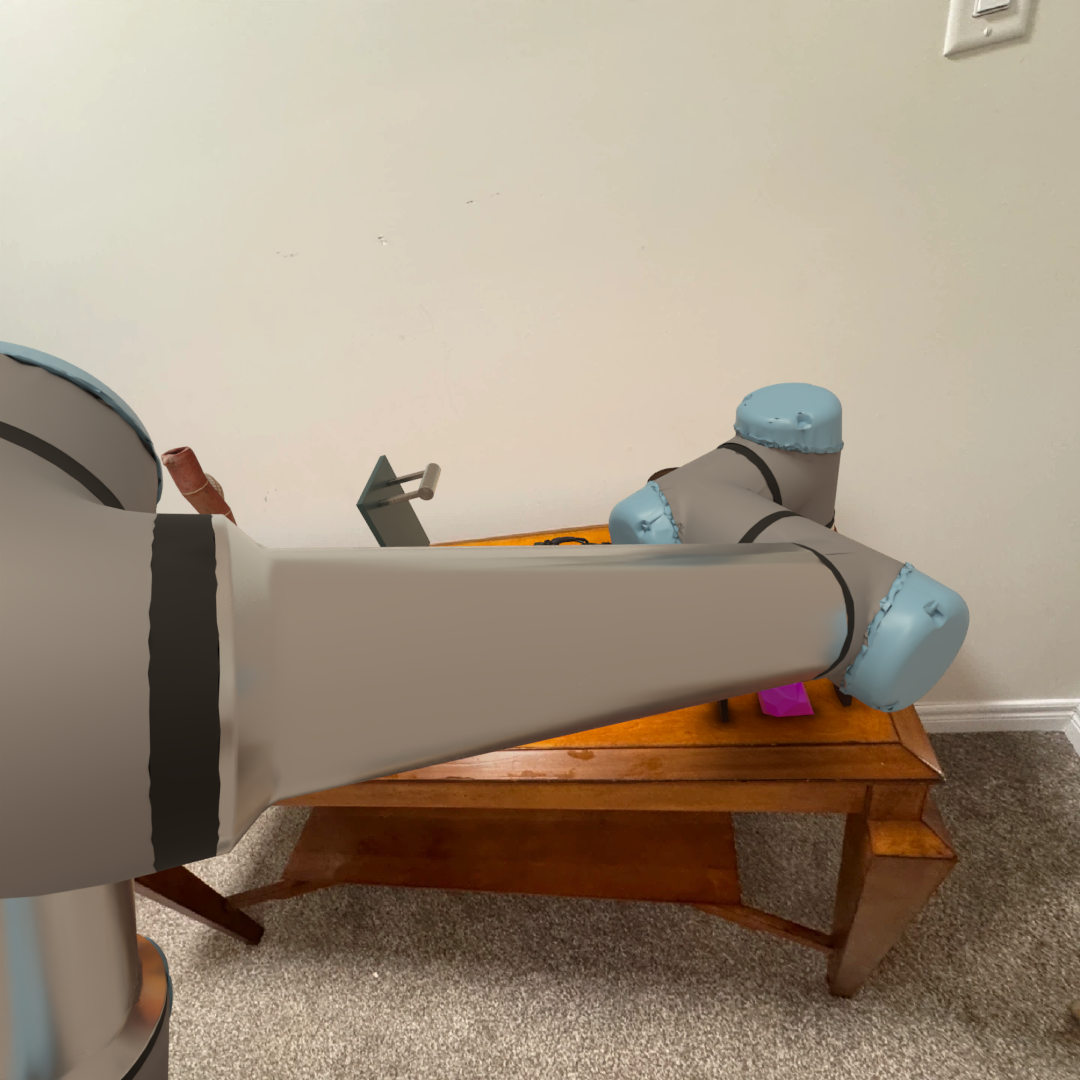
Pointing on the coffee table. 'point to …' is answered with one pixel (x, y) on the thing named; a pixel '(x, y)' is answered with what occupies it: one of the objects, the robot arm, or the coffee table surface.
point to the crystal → (785, 701)
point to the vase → (196, 482)
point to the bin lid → (396, 505)
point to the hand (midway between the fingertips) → (781, 703)
